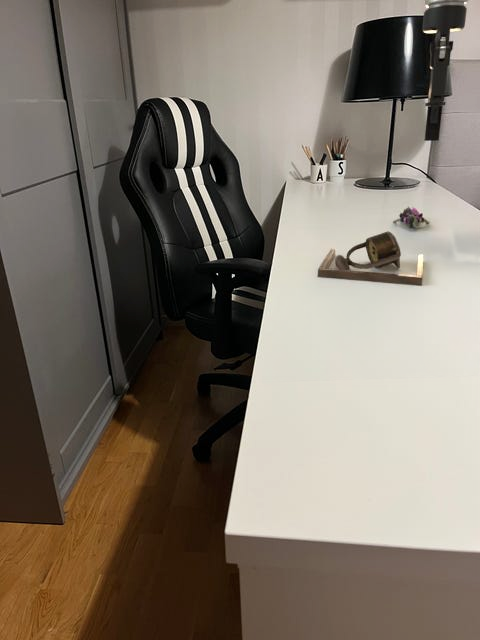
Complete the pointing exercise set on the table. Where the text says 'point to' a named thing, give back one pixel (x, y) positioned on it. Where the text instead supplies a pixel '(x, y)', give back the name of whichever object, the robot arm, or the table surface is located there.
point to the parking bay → (370, 273)
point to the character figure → (411, 217)
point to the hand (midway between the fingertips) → (431, 140)
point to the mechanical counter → (374, 253)
